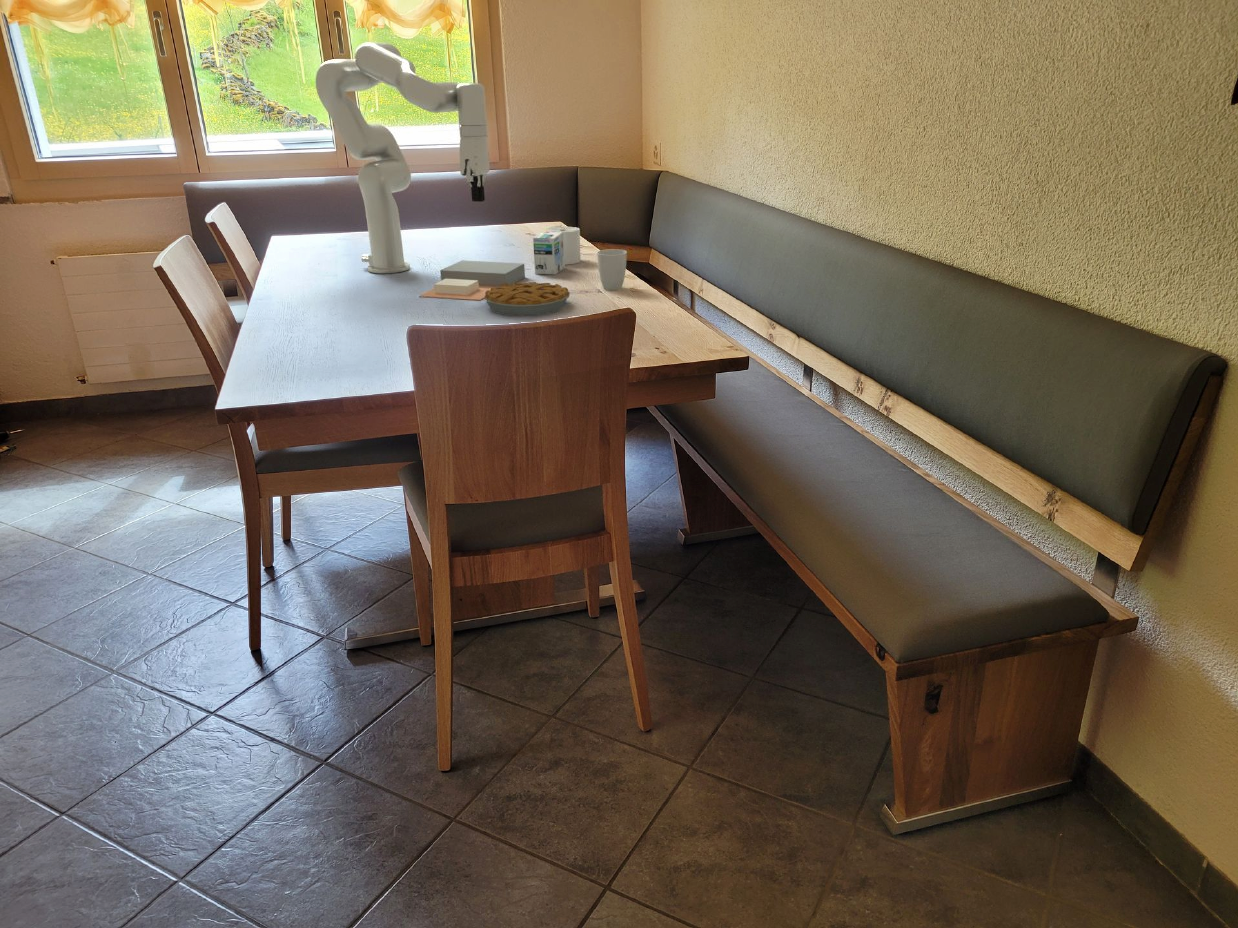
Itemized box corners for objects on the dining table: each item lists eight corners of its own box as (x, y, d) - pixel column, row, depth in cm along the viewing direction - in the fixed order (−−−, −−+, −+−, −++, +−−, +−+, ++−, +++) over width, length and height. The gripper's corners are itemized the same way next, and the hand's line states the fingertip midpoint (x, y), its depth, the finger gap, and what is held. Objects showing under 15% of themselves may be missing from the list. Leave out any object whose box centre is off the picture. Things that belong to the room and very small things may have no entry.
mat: (419, 296, 238) (419, 295, 238) (444, 284, 251) (444, 283, 251) (479, 300, 233) (479, 299, 233) (502, 288, 246) (502, 286, 246)
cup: (630, 286, 246) (630, 250, 242) (621, 292, 239) (621, 255, 235) (603, 284, 249) (603, 248, 245) (593, 290, 242) (592, 254, 238)
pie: (536, 322, 214) (535, 302, 212) (467, 311, 224) (466, 292, 222) (586, 303, 231) (585, 284, 229) (520, 293, 241) (518, 275, 239)
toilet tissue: (560, 266, 271) (559, 233, 267) (537, 261, 279) (536, 229, 275) (587, 261, 277) (586, 229, 273) (564, 256, 286) (563, 225, 281)
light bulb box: (555, 275, 260) (554, 238, 256) (534, 274, 262) (532, 237, 257) (565, 267, 270) (563, 231, 265) (544, 267, 271) (542, 231, 267)
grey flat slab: (441, 284, 251) (440, 270, 250) (463, 273, 263) (462, 260, 262) (506, 288, 246) (505, 273, 244) (525, 277, 258) (524, 263, 256)
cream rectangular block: (445, 278, 246) (446, 287, 247) (433, 284, 240) (434, 292, 241) (478, 280, 243) (478, 289, 244) (466, 286, 237) (467, 295, 238)
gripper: (473, 130, 248) (477, 197, 256) (448, 134, 235) (454, 204, 243) (497, 130, 246) (501, 198, 254) (474, 134, 233) (479, 205, 241)
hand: (478, 201), depth 249 cm, fingers closed
